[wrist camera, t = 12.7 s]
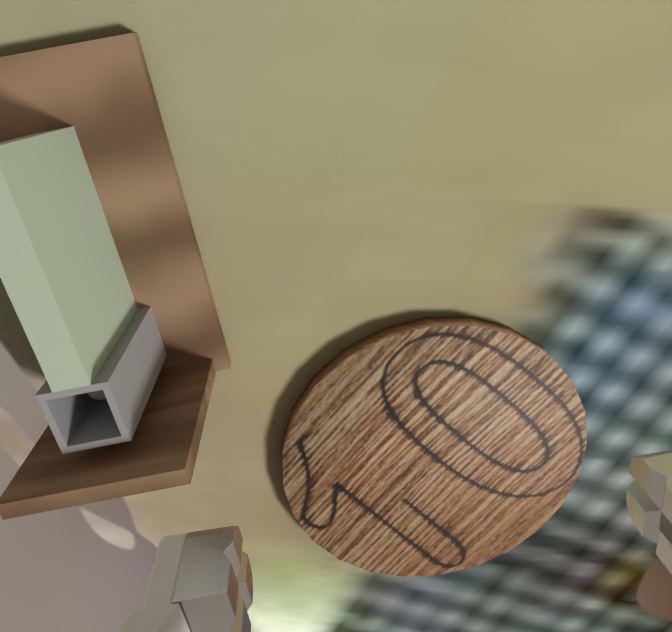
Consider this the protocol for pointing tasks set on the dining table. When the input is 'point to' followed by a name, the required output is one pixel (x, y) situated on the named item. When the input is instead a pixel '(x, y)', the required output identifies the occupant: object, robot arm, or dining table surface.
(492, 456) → the trivet
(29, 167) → the pale green grey block
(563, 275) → the dining table surface
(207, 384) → the cabinet base
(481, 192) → the dining table surface
